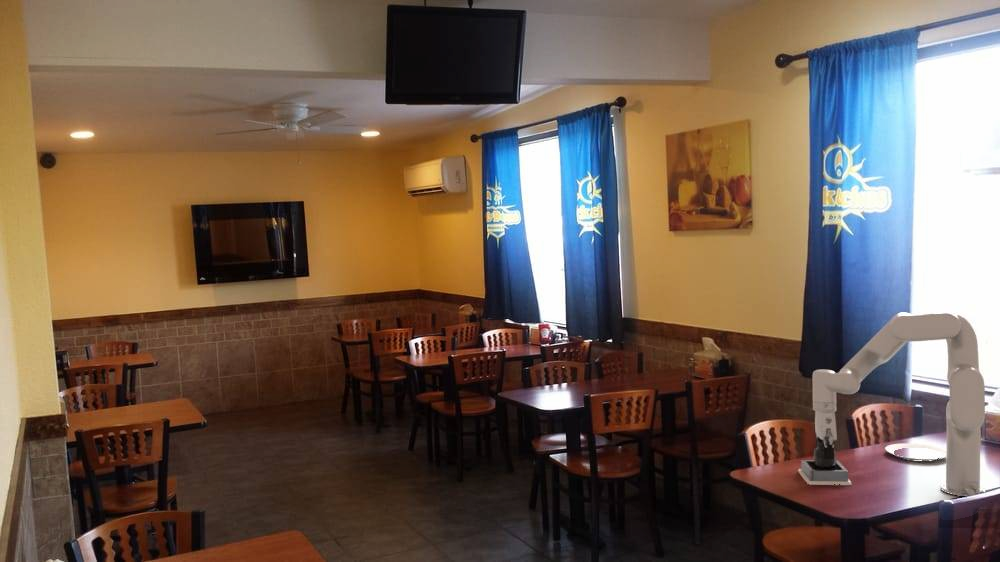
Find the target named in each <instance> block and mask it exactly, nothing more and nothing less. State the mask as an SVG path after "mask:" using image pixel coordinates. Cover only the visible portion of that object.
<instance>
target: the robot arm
mask: <svg viewBox="0 0 1000 562" xmlns="http://www.w3.org/2000/svg"><path fill="white" fill-rule="evenodd" d="M939 340H941V341H942V340H945V341H946V345H947V376H946V379H947V382H948V387H949V400H948V401H947V403H946V407H945V419H946V422H945V423H946V446H945V447H946V448H945V449H946V450H945V451H946V457H945V458H946V461H945V463H946V465H945V468H946V469H945V471H946V472H945V482H944V483H941V484H940V490H941V489H943V490H944V491H946V492H949V493H952V494H955V495H959V496H965V495H974V494H976V493H980V492H985V493H986V489H985V488H983V487H981V445H982V443H981V442H982V441H981V434H982V433H981V432H982V431H981V427H982V426H983V424H984V421H985V417H986V413H985V412H986V411H985V410H986V407H985V406H986V404H985V403H986V398H985V397H986V395H985V394H986V392H985V391H986V389H985V380H984V376H983V375H982V373H981V371H980V367H979V366H980V363H979V348H978V347H979V346H978V337H977V335H976V332H975V329H974V327H973V326H972V324H971V323H970V322H969V321H968V319H966V318H965V317H964V316H963V315H961V314H960V313H958V312H957V311H954V310H952V309H949V308H943V307H942V308H939V309H936V310H934V311H933V312H932V313H926V314H912V313H909V312H899V313H897V314H895V315H894V316H893V317H891V319H890V320H888V321H887V323H885V325H884V326H883V327H882V328H881V329H880V330H879V331H878V332H877V333H875V335H874V336H872V338H871V339H870V340H869V341H868V342H867V343H866V344H865V345H864V346H863V347H862V348H861V349H860V350H859V351H858V352H857V353H856V354H855V355H854V356H853V357H852V358H850V359H849V361H847V363H846V364H845V365H844V366H843V367H842V368H841V369H840V370H839V371H838V372H835V371H834V370H831V369H823V368H822V369H816V370H814V371H813V372H812V378H811V379H812V411H815V413H814V428H815V429H814V430H815V435H816V436H815V440H816V443H815V447H816V448H818V447H817V441H818V440H823V441H824V446H825V447H824V459H834V451H835V445H834V443H835V442H834V441H837V438H838V437H837V436H838V435H837V422H836V420H837V419H836V414H835V413H836V412H837V393H839V394H843V395H853V394H855V393H857V392H858V391H859V390H860V388H861V382H863V380H865V378H866V377H867V376H868V375H869V374H870V373H872V371H874V369H876V368H877V367H878V366H880V365H883V364H885V363H887V362H888V361H891V359H892V358H893V357H894V356H895V355H896V354H897V353H898V352H899V351H900V350H901V349H902V348H903V347H904V346H905V345H906V344H907V343H908V342H926V341H939ZM826 441H827V443H826ZM816 448H815V449H816ZM959 496H958V497H959Z"/></svg>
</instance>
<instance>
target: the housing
mask: <svg viewBox="0 0 1000 562" xmlns="http://www.w3.org/2000/svg"><path fill="white" fill-rule="evenodd" d="M800 461H801V463H800V468H798V471H797V472H798V474H800V476H801V477H802V479H803V480H804V481H805V482H807V483H806V484H807V485H808V484H809V485H810V486H811V485H817V486H819V485H821V486H826V485H827V486H852V481H851V480H850V479H849V471H848V469H846V468H845V466H844V465H843V464H842V463H841V462H840V461H839V460H838V459H837V460H836V459H835V470H814V459H802V460H800ZM834 484H835V485H834ZM839 484H840V485H839Z"/></svg>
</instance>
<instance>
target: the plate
mask: <svg viewBox="0 0 1000 562" xmlns="http://www.w3.org/2000/svg"><path fill="white" fill-rule="evenodd" d="M916 447H917V448H928V449H933V450H936V451H939V452H941V453H942V454H943V457H942V458H939V459H938V460H941V459H945V458H946V450H945V449H942V448H940V447H936V446H932V445H927V444H920V443H907V442H906V443H902V442H901V443H892V444H889V445H886V446H885V448H884V449H885V451H886V452H887V453H889V454H891V455H894V456H895V457H897V458H899V457H900V458H899V459H901V458H904V459H903V460H905V459H909V460H908V461H910V460H922V461H929V460H936V461H938V460H937V459H916V458H908V457H903V456H899V455H895V454H894V451H895V450H898V449H902V448H916Z"/></svg>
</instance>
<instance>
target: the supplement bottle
mask: <svg viewBox="0 0 1000 562" xmlns="http://www.w3.org/2000/svg"><path fill="white" fill-rule="evenodd" d="M826 443H827V441H826ZM817 447H818V448H815V449H814V450H813V451H814V452H813V460H814V470H835V460H836V451H835V450H834V459H824V447H825V446H824V441H823V440H818V441H817Z"/></svg>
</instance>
